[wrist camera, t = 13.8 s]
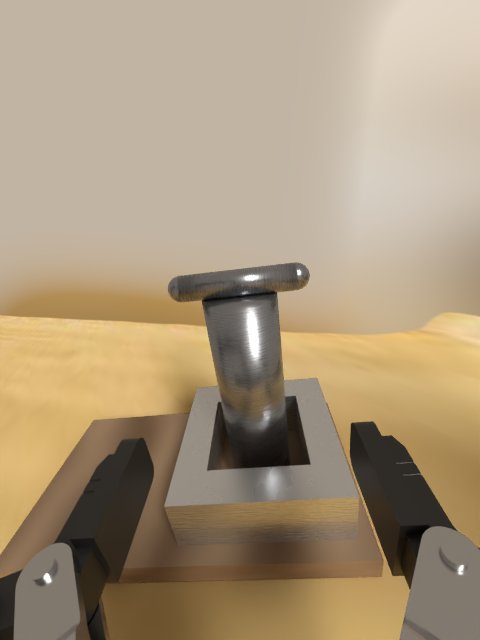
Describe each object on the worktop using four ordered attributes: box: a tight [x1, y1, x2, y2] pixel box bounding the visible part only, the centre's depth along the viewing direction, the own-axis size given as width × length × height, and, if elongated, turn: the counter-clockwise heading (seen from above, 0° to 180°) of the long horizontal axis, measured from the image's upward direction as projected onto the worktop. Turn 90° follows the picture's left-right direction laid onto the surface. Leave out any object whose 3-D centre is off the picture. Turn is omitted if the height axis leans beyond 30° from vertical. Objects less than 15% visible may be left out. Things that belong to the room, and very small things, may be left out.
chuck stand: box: [0, 378, 383, 583], centre depth 21 cm, size 22×12×5 cm, turn 88°
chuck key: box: [168, 263, 310, 469], centre depth 18 cm, size 7×4×14 cm, turn 88°
